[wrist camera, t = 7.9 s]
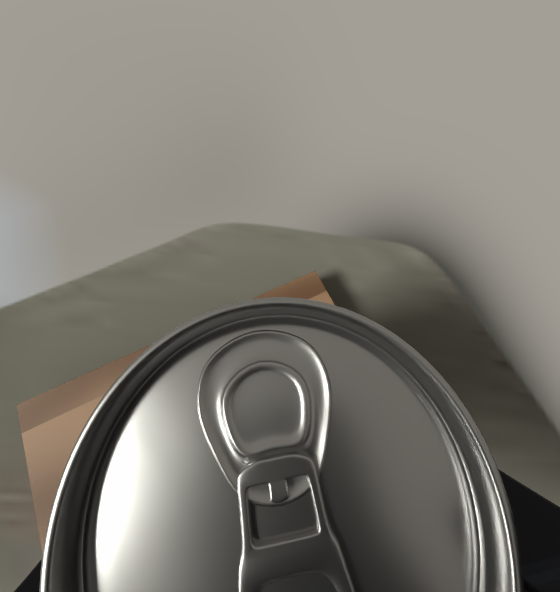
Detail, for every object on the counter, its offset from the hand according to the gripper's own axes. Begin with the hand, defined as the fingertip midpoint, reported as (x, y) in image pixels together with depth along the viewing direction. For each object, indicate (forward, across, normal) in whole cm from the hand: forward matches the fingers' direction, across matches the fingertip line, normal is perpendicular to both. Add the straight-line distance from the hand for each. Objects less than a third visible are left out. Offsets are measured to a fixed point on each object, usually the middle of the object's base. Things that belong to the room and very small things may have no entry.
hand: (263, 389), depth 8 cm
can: (+4, 0, +6) cm, 7 cm away
